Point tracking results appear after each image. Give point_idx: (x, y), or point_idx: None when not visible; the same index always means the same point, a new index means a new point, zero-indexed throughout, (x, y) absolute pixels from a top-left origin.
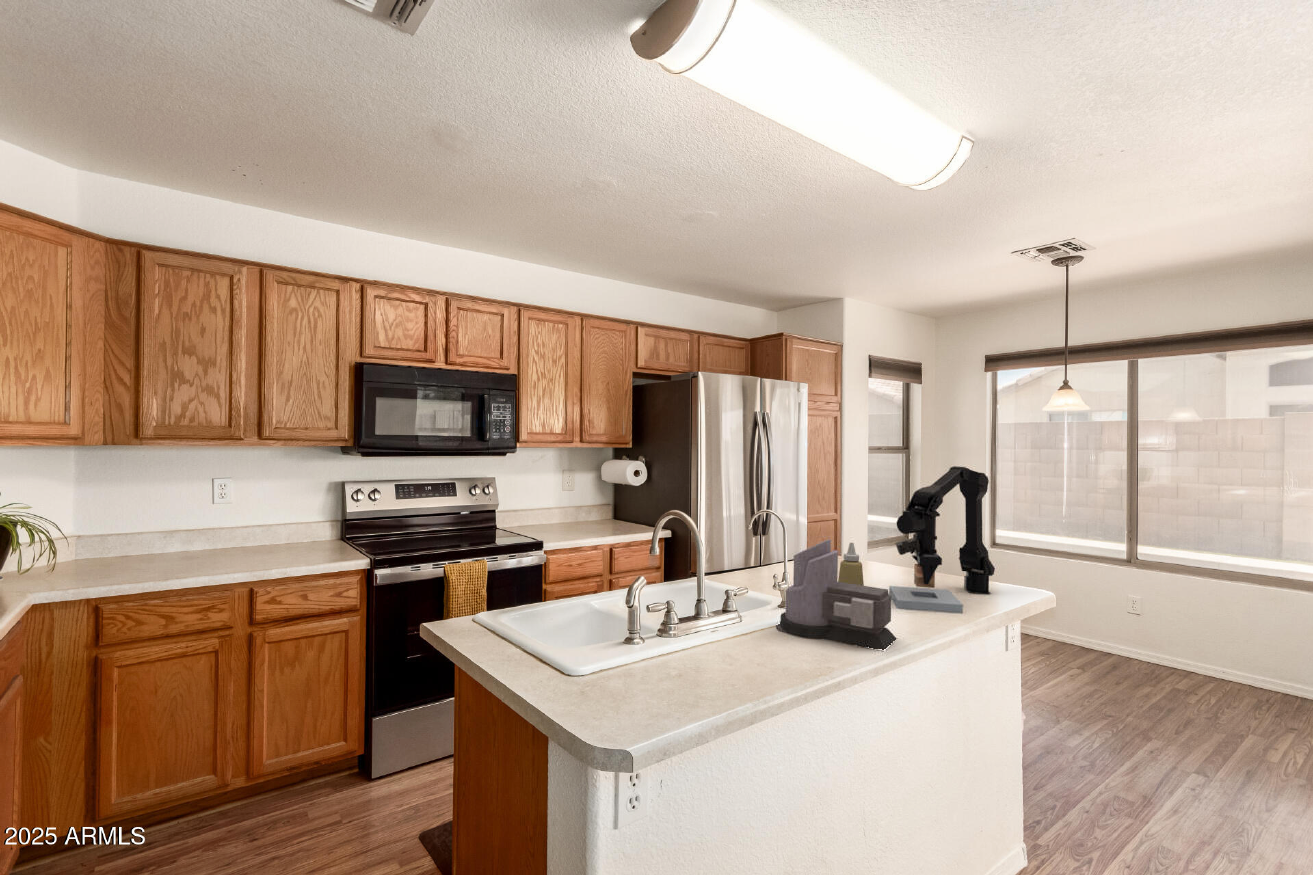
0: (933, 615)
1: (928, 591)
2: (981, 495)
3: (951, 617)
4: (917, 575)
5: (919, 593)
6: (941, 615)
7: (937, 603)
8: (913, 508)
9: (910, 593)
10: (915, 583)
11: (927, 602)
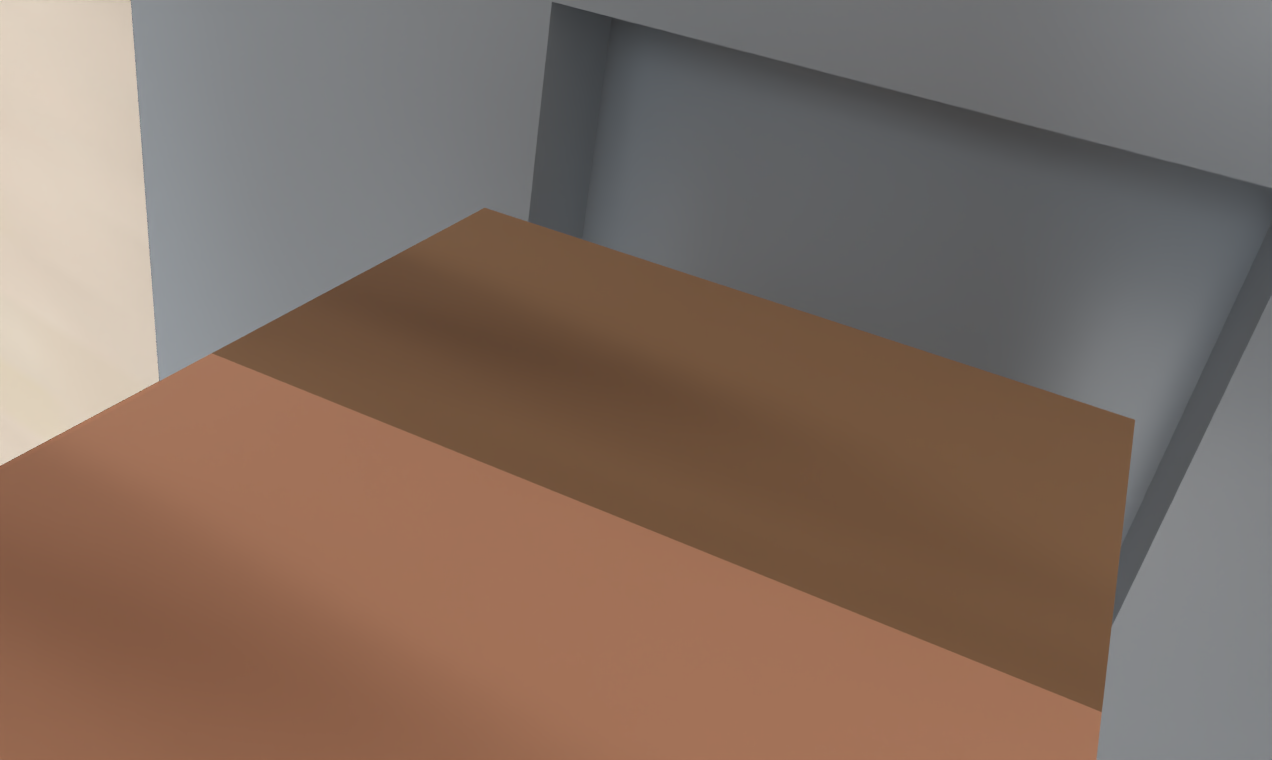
0: (41, 72)
1: (1195, 743)
2: None
3: (42, 316)
4: (162, 398)
5: (1185, 451)
6: (85, 215)
7: (168, 324)
8: None
9: (958, 60)
10: (783, 325)
11: (149, 135)
